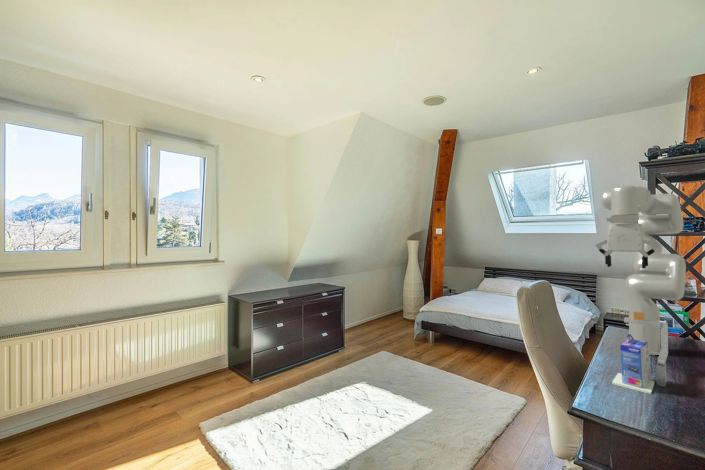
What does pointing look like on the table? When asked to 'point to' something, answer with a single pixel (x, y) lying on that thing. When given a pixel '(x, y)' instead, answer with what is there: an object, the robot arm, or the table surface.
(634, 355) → the ink cartridge box
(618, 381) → the felt pad
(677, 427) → the table surface
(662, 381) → the rail block
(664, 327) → the grey angled frame
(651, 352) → the robot arm
